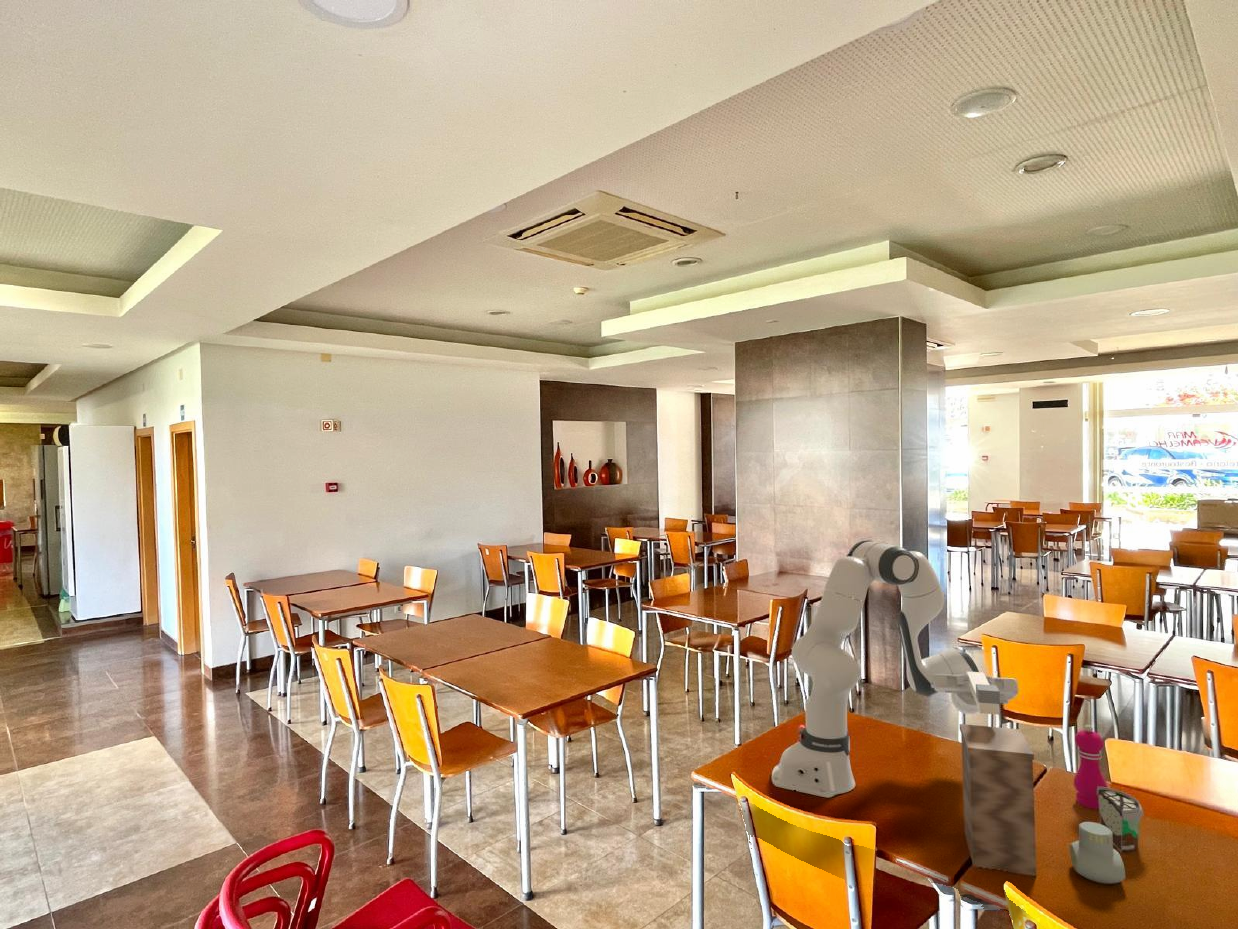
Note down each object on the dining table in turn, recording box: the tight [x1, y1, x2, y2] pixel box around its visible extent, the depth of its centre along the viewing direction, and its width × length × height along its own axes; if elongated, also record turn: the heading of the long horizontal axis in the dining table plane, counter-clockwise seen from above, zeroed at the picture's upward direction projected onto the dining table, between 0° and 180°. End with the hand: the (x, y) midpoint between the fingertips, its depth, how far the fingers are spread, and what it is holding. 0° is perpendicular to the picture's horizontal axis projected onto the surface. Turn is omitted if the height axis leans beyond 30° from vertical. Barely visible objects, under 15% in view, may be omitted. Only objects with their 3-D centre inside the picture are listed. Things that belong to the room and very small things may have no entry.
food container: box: [1097, 787, 1144, 854], centre depth 156 cm, size 12×6×10 cm, turn 168°
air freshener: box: [1069, 821, 1126, 885], centre depth 144 cm, size 11×8×10 cm
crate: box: [959, 723, 1038, 877], centre depth 153 cm, size 13×14×26 cm
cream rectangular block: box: [967, 671, 1000, 716], centre depth 169 cm, size 4×22×6 cm, turn 160°
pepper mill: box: [1073, 724, 1109, 810], centre depth 174 cm, size 7×7×20 cm
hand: (977, 678), depth 176 cm, fingers closed on cream rectangular block, 4 cm apart
